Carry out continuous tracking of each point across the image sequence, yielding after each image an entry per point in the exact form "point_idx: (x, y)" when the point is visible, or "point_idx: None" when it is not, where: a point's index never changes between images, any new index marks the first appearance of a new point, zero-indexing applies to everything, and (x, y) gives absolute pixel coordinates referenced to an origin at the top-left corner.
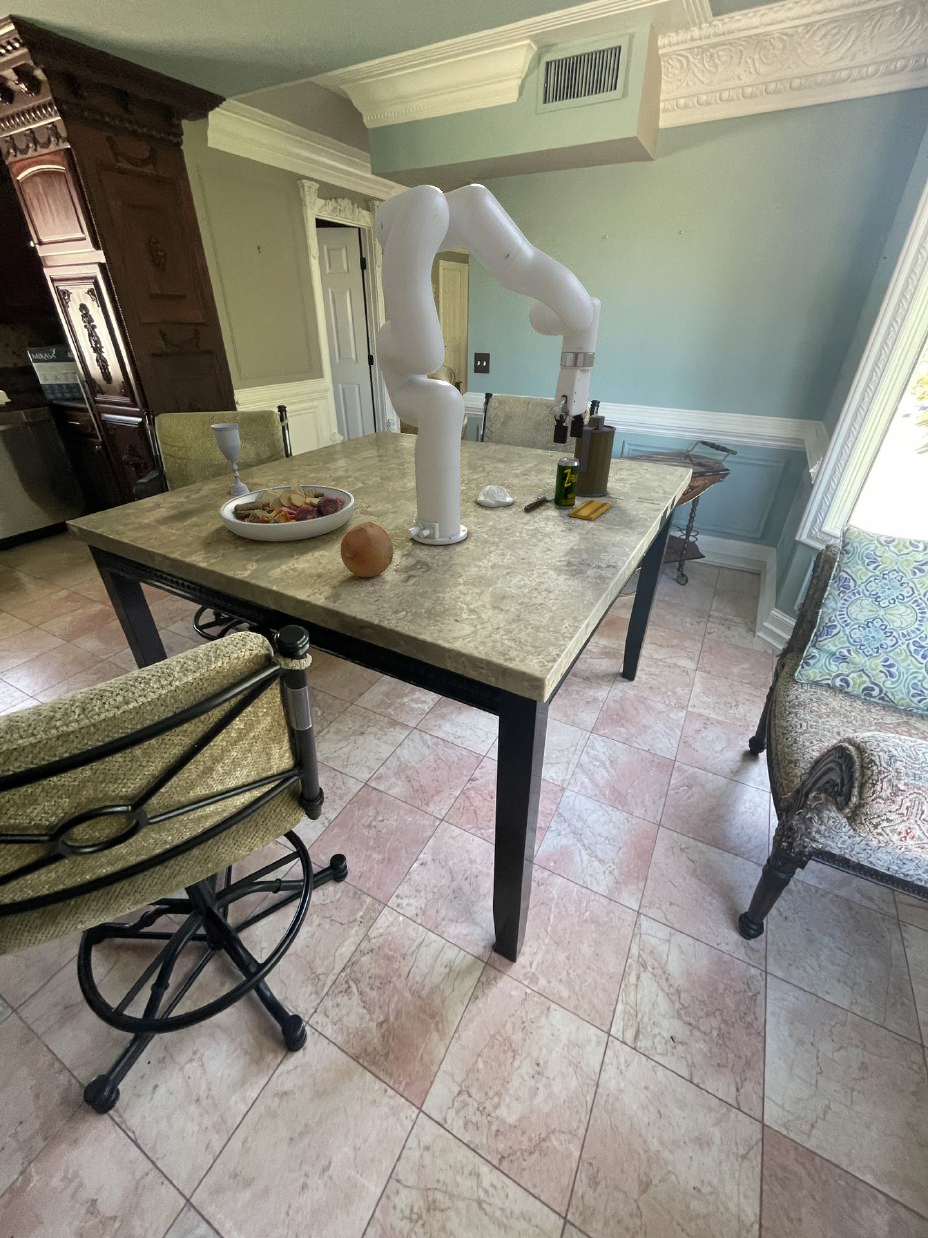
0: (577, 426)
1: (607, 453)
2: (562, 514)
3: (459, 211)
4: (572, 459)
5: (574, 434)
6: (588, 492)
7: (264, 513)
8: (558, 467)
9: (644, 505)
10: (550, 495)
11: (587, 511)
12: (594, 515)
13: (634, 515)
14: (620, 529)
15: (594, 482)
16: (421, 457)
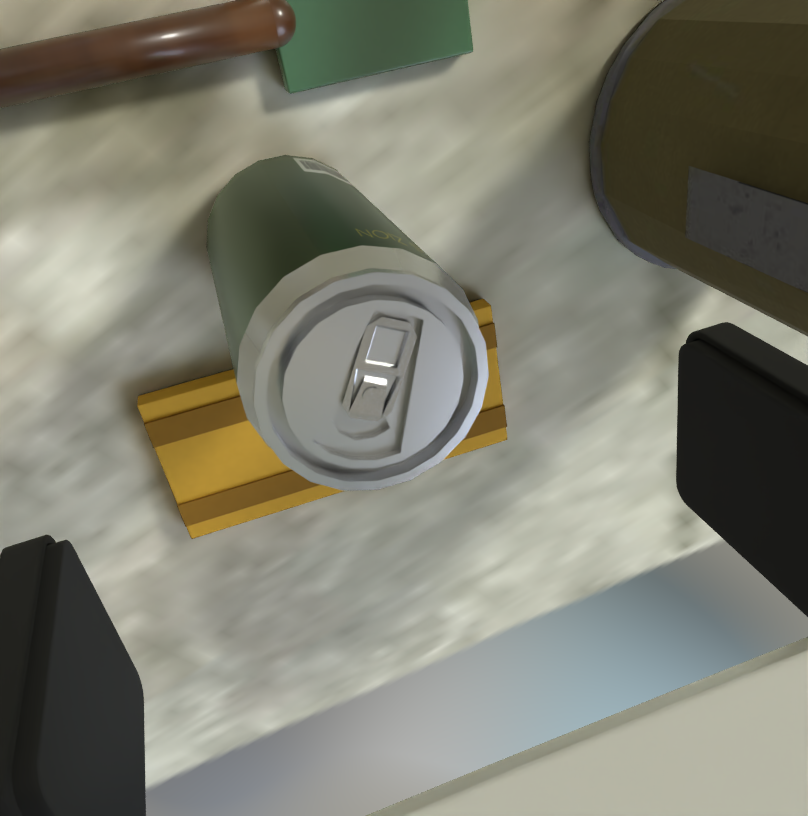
0: (789, 529)
1: None
2: (126, 345)
3: None
4: (405, 411)
5: (698, 426)
6: (621, 213)
7: None
8: (244, 309)
9: (632, 518)
10: (394, 1)
11: (263, 454)
12: (229, 525)
13: (445, 586)
14: (195, 678)
15: (678, 263)
16: None
